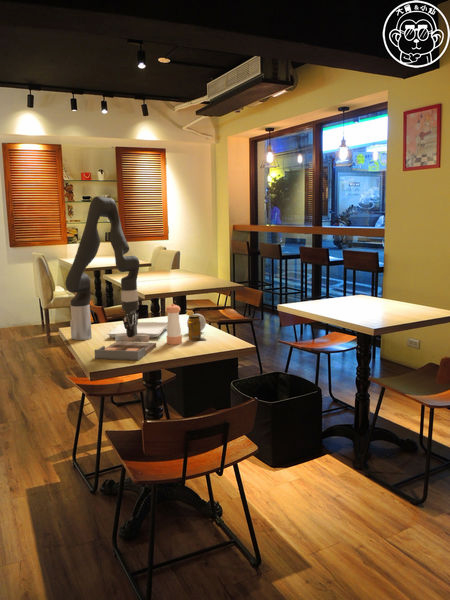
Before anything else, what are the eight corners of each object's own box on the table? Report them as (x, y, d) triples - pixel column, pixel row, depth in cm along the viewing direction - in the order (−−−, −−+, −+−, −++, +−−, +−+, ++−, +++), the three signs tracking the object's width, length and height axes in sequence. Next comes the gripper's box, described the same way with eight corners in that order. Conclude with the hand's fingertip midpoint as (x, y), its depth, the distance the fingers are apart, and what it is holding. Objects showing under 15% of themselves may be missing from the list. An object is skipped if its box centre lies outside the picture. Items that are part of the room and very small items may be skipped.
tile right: (124, 356, 229) (124, 351, 228) (128, 353, 234) (128, 348, 233) (135, 357, 228) (134, 351, 227) (139, 354, 233) (139, 348, 232)
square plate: (171, 328, 287) (170, 321, 287) (160, 340, 260) (159, 332, 260) (123, 328, 290) (122, 321, 289) (107, 340, 263) (106, 332, 262)
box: (95, 358, 228) (94, 349, 228) (103, 353, 237) (103, 345, 236) (138, 360, 224) (137, 351, 223) (145, 355, 232) (145, 346, 232)
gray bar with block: (115, 341, 243) (113, 324, 242) (117, 340, 246) (116, 323, 245) (147, 342, 240) (146, 325, 239) (149, 340, 243) (148, 324, 241)
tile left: (103, 355, 231) (102, 350, 231) (108, 352, 236) (107, 347, 235) (113, 356, 230) (113, 350, 229) (118, 353, 235) (118, 347, 234)
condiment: (186, 338, 262) (186, 315, 260) (203, 337, 264) (202, 313, 262) (189, 341, 255) (188, 317, 253) (206, 340, 257) (205, 316, 255)
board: (103, 353, 237) (103, 349, 237) (116, 345, 250) (116, 341, 250) (145, 355, 233) (145, 350, 232) (156, 347, 246) (156, 342, 246)
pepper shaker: (181, 344, 250) (179, 304, 247) (166, 344, 250) (164, 305, 247) (182, 340, 257) (180, 302, 254) (167, 341, 257) (165, 302, 254)
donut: (188, 333, 272) (187, 314, 270) (186, 332, 275) (186, 313, 273) (206, 332, 274) (206, 313, 273) (205, 330, 278) (204, 312, 276)
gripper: (128, 297, 247) (130, 332, 250) (115, 302, 234) (118, 339, 237) (143, 297, 246) (144, 333, 249) (131, 302, 232) (133, 340, 235)
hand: (131, 336), depth 243 cm, fingers closed on gray bar with block, 3 cm apart
